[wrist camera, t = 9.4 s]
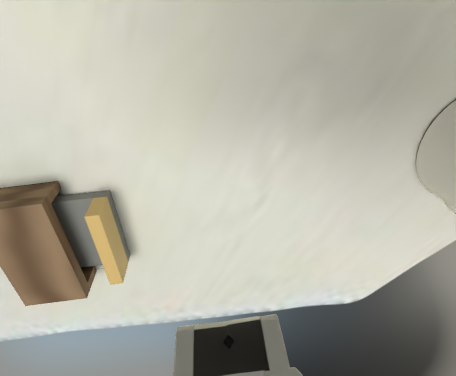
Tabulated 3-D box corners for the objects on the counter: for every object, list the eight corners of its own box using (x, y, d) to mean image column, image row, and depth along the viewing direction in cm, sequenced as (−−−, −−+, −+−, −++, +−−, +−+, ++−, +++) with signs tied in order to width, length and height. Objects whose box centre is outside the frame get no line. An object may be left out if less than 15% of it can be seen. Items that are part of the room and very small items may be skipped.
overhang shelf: (57, 181, 37) (41, 203, 33) (96, 270, 44) (86, 297, 41) (-10, 189, 37) (-34, 213, 33) (40, 278, 44) (25, 305, 41)
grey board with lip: (109, 189, 38) (98, 215, 34) (130, 253, 44) (122, 283, 39) (14, 199, 38) (-10, 226, 34) (46, 263, 43) (29, 293, 39)
